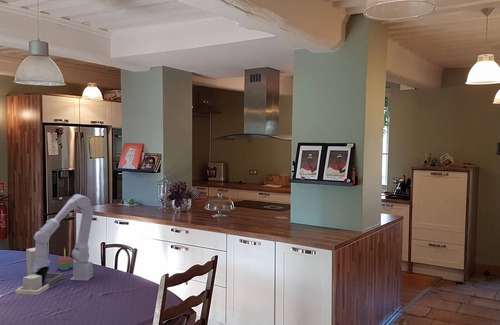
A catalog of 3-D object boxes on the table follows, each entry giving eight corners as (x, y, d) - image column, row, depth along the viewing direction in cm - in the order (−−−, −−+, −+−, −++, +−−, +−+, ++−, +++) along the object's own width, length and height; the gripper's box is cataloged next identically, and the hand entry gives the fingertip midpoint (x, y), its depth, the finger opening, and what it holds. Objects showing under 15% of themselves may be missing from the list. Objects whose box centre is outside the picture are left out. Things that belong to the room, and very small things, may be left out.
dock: (63, 277, 235) (63, 273, 235) (48, 287, 220) (48, 282, 220) (43, 277, 236) (43, 272, 235) (27, 286, 221) (27, 281, 220)
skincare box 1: (43, 277, 235) (43, 249, 235) (31, 279, 231) (31, 251, 231) (37, 273, 241) (37, 246, 241) (25, 275, 237) (25, 248, 237)
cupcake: (56, 268, 253) (56, 247, 252) (72, 266, 256) (72, 245, 256) (56, 272, 245) (56, 250, 244) (73, 270, 249) (73, 249, 248)
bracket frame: (49, 288, 218) (48, 284, 218) (37, 295, 208) (37, 291, 208) (27, 287, 219) (27, 283, 219) (15, 294, 209) (15, 290, 209)
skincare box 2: (33, 288, 217) (33, 273, 217) (42, 290, 215) (42, 275, 215) (22, 292, 212) (22, 277, 211) (31, 294, 209) (31, 278, 209)
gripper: (40, 251, 229) (40, 277, 230) (26, 258, 215) (26, 286, 215) (54, 251, 229) (54, 277, 230) (40, 259, 215) (40, 287, 215)
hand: (41, 282), depth 223 cm, fingers closed
